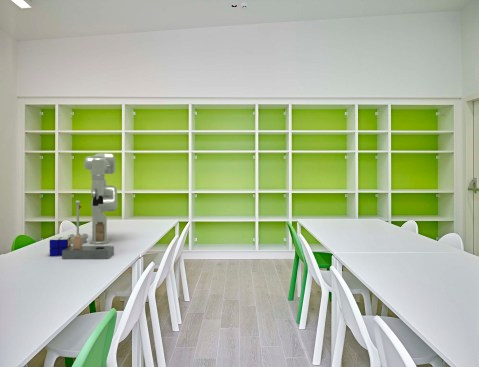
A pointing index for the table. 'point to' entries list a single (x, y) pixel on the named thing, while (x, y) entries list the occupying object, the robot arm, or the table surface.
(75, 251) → the block
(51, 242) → the puzzle cube
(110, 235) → the table surface
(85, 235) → the flag stand
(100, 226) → the walnut plug
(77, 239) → the terracotta plug
